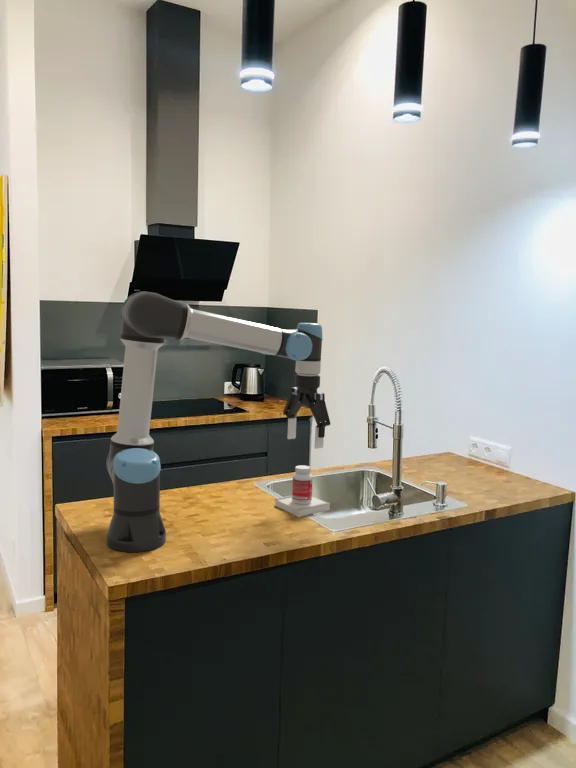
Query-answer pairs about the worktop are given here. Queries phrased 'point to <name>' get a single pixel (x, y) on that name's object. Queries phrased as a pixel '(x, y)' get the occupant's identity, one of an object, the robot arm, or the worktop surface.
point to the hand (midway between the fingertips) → (304, 443)
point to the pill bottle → (302, 485)
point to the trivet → (302, 506)
